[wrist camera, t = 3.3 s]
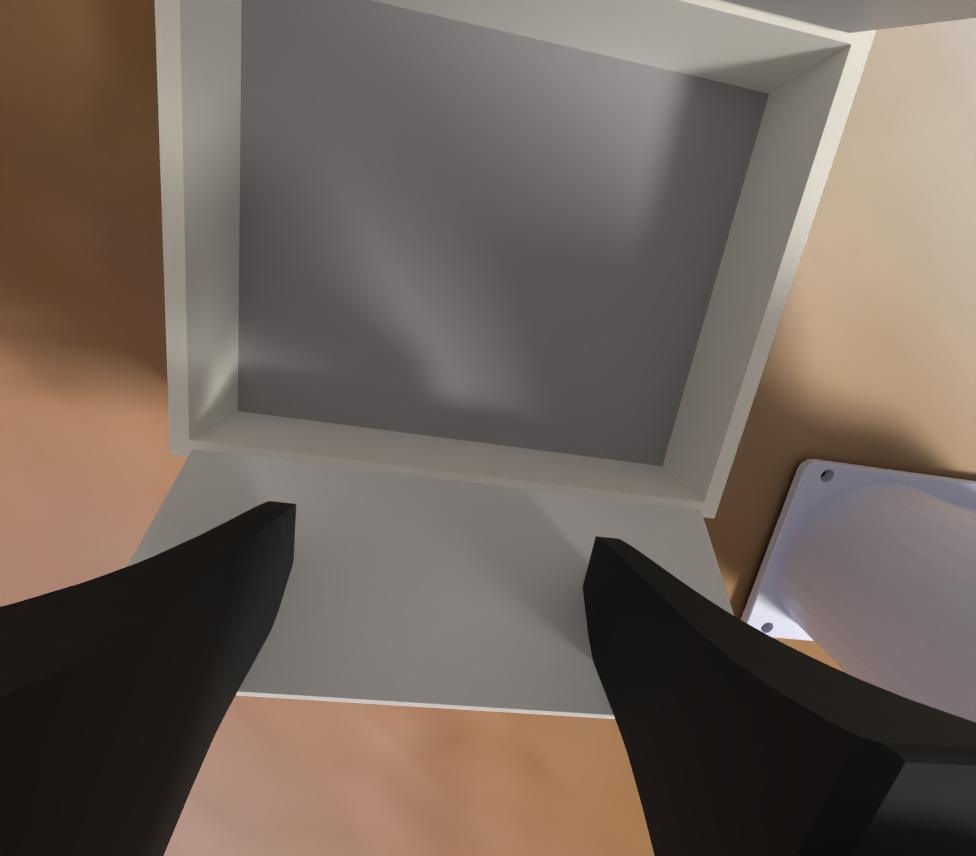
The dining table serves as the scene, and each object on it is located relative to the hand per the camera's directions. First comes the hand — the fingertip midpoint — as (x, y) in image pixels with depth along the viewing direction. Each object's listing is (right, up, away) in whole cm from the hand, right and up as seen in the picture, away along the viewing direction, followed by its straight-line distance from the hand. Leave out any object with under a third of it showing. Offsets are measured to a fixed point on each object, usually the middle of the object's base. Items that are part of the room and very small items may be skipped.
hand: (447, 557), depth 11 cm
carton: (+1, +9, +4) cm, 9 cm away
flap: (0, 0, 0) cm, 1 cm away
